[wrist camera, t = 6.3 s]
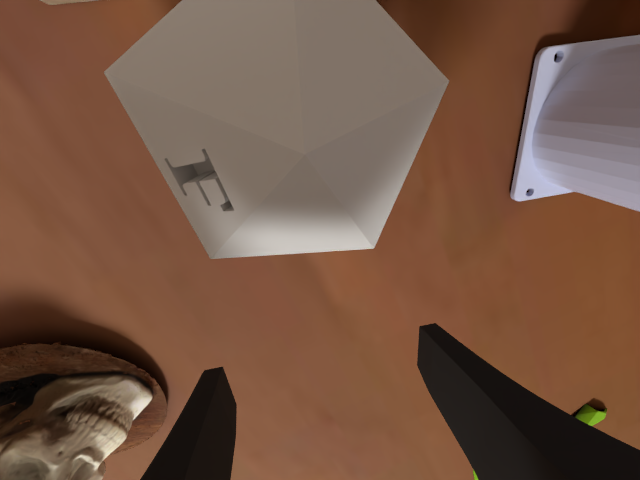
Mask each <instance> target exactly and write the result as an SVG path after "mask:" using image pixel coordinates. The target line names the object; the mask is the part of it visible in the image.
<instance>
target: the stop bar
mask: <svg viewBox="0 0 640 480" xmlns="http://www.w3.org/2000/svg"><path fill="white" fill-rule="evenodd" d="M40 1H42V2H45V3H47V4H49V5H55V4H65V3H75V2H86V1H96V0H40Z"/></svg>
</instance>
